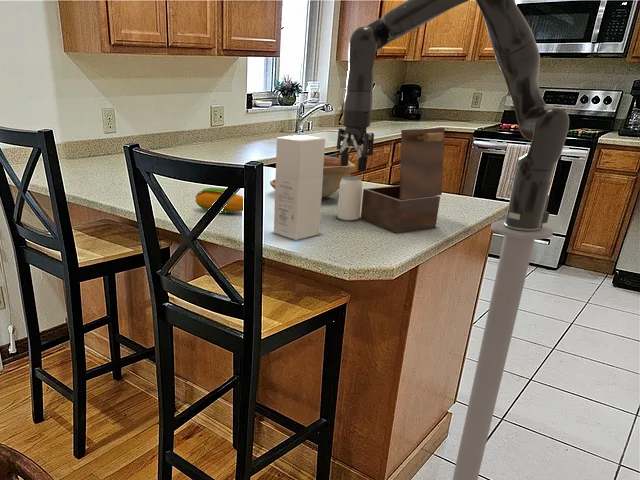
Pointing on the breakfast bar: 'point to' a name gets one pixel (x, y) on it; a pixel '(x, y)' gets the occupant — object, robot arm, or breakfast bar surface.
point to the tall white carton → (298, 186)
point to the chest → (398, 210)
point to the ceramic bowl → (331, 175)
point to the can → (349, 198)
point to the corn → (212, 194)
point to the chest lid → (421, 162)
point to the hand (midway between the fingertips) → (352, 168)
